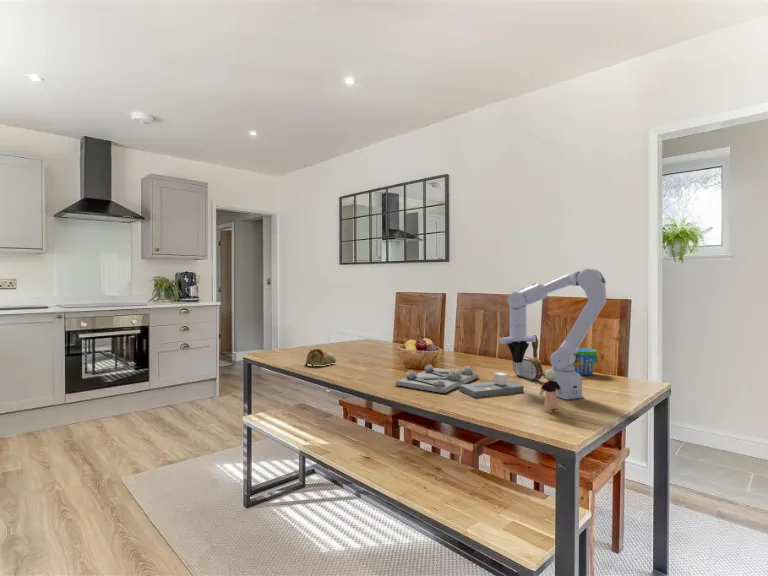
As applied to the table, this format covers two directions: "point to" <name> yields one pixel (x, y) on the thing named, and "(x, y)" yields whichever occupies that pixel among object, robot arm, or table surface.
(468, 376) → the grey knobbed board
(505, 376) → the switch tab
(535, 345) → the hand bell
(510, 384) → the switch board
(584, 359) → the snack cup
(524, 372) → the tin
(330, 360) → the pastry
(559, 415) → the table surface
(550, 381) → the grandmother figurine
